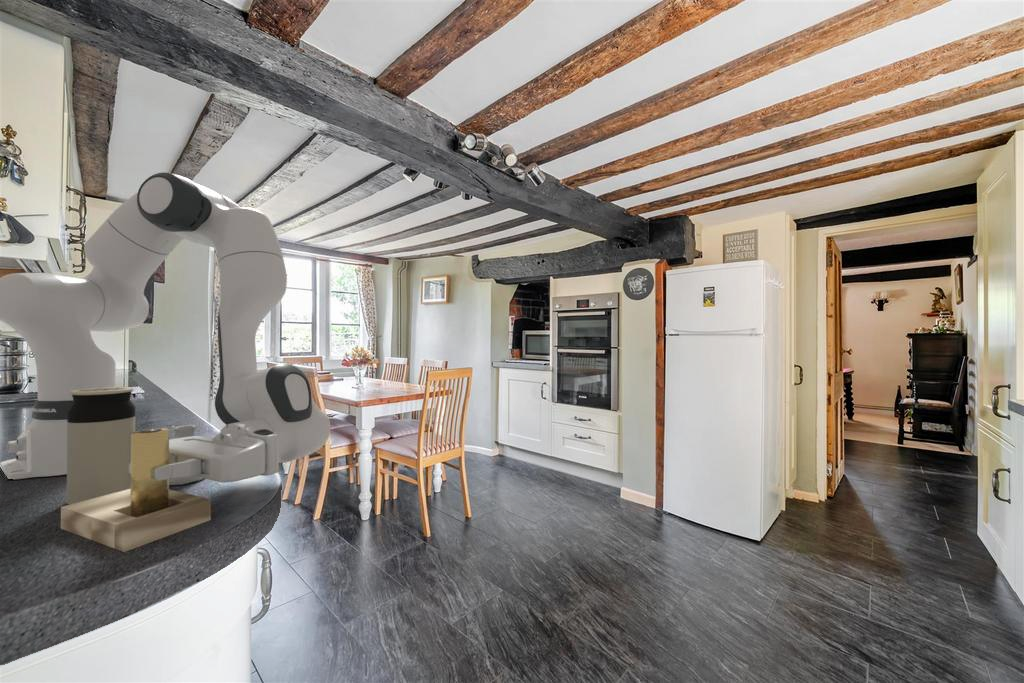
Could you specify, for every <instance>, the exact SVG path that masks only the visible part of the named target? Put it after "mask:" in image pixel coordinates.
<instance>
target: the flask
mask: <svg viewBox="0 0 1024 683" xmlns="http://www.w3.org/2000/svg"><path fill="white" fill-rule="evenodd" d="M196 429H197V425H193V424H192V425H191V424H190V425H188V424H187V425H180V426H176V427H173V429H172V430H173V432H175V437H174V439H176V438H183V437H191V436H195V430H196ZM201 480H204V478H200V477H195V476H187V477H176V478H169V486H177V485H178V486H179V485H180V486H181V485H182V486H183V485H185V484H190V483H193V482H198V481H201Z"/></svg>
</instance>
